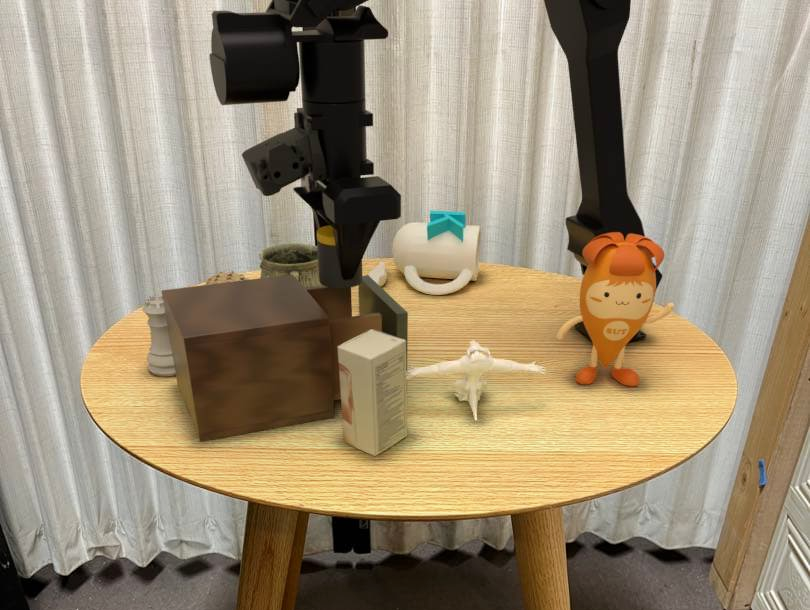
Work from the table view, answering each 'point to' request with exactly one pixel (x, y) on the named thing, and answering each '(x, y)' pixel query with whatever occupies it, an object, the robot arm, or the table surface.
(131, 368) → the table surface
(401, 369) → the printed medicine carton
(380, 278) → the pale tapered spike
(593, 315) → the toy figure
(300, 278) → the vessel
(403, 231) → the mug
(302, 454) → the table surface
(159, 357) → the rook chess piece
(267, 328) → the cabinet
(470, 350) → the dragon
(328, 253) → the yellow and grey canister
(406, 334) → the drawer
